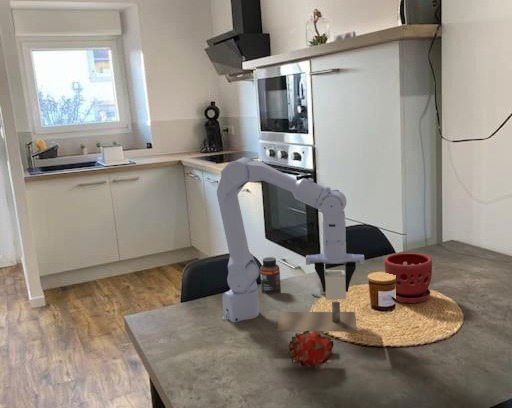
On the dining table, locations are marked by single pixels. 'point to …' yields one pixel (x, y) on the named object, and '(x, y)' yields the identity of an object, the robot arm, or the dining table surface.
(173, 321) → the dining table surface
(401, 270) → the plant pot
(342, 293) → the white hollow block
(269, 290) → the supplement bottle
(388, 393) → the dining table surface
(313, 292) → the pacifier
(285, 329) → the post board
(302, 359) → the dragon fruit
